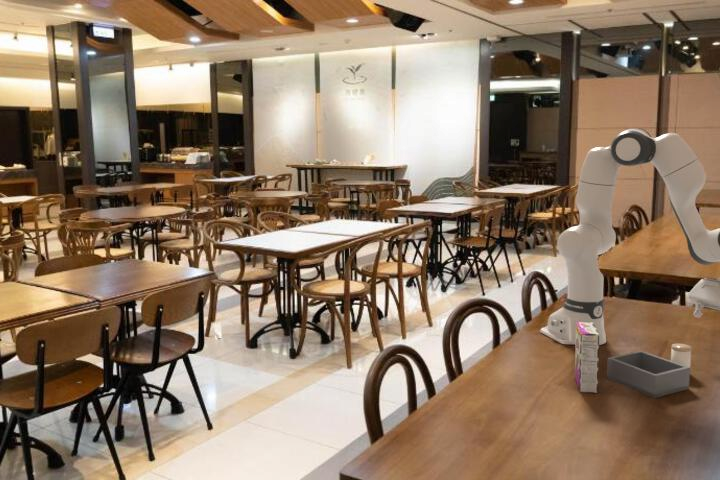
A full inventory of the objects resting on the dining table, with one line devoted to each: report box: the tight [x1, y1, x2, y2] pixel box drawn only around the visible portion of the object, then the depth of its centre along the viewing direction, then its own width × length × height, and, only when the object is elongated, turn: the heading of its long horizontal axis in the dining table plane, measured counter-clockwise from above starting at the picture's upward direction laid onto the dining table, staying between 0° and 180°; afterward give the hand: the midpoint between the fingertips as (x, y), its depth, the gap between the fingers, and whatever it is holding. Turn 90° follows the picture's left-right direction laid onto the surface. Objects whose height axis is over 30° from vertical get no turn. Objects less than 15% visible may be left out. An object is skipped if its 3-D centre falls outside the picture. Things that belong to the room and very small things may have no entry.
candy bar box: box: [574, 322, 600, 394], centre depth 177 cm, size 11×5×16 cm, turn 168°
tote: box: [606, 350, 691, 399], centre depth 178 cm, size 16×13×6 cm
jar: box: [670, 343, 692, 368], centre depth 185 cm, size 5×5×8 cm
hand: (710, 319), depth 189 cm, fingers open, 8 cm apart
